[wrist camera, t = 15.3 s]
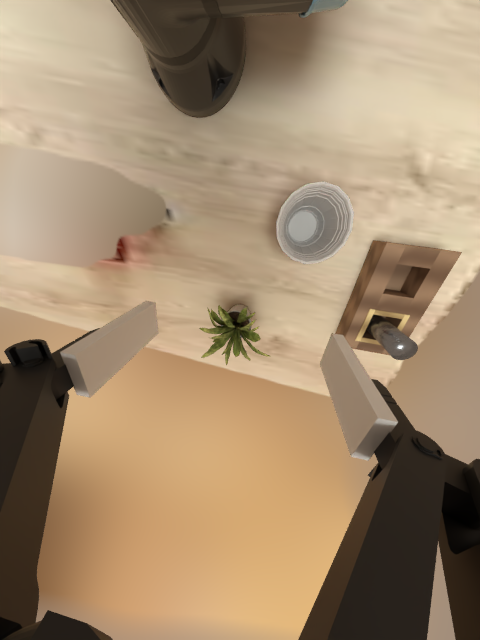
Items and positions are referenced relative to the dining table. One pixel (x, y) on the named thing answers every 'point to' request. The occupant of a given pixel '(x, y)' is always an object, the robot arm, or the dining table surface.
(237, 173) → the dining table surface
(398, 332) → the pin
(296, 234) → the plastic cup
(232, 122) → the dining table surface
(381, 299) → the hole block
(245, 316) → the house plant
